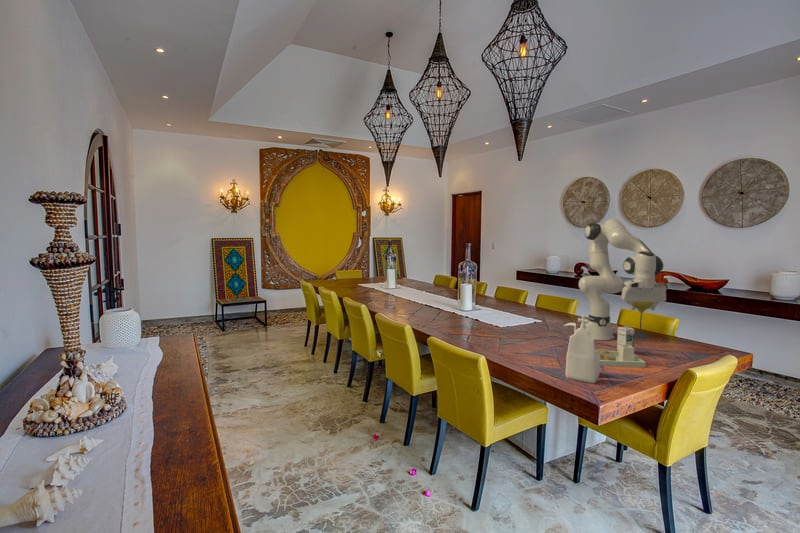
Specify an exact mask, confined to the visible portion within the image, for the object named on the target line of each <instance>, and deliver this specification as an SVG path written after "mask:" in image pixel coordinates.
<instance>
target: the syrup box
mask: <svg viewBox="0 0 800 533" xmlns="http://www.w3.org/2000/svg"><path fill="white" fill-rule="evenodd" d="M634 333H635V328H633V327H631V326H628V325H625V326H618V327H617V339H616V340H617V342H616V343H617V344H616V346H617V347H616V348H617V350H616V351H619V345H631V346H632V347H634V346H635V336H634ZM634 348H635V347H634Z"/></svg>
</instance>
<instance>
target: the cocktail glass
mask: <svg viewBox="0 0 800 533" xmlns="http://www.w3.org/2000/svg"><path fill="white" fill-rule="evenodd" d="M625 302H626V304H628V305H629V306H630V304H629V301H625ZM659 303H660V302H658V305H659ZM632 304H633V306H635V310H637V311H638V312H639V313H640V321H639V330H638V332H634V338H641V339H647V338H648V337H649V338H650V337H651V335H649V334H646V333H642V319H643V317H642V316H643V313H644V312H646V311H647V310H650V306H653V304H654V303H653V302H638V301H633V303H632Z"/></svg>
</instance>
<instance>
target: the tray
mask: <svg viewBox="0 0 800 533" xmlns="http://www.w3.org/2000/svg"><path fill="white" fill-rule="evenodd" d="M608 351H609V354H613V355H614V356H615V357H616V361H613V360H600V366H599V367H603V366H604V367H622V368H623V367H626V368H627V367H628V368H629V367H630V368H647V362H646V361H644V359H641V357H639V356H637V355H636V354H634V360H633V361H619V351H618V350H608Z"/></svg>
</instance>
